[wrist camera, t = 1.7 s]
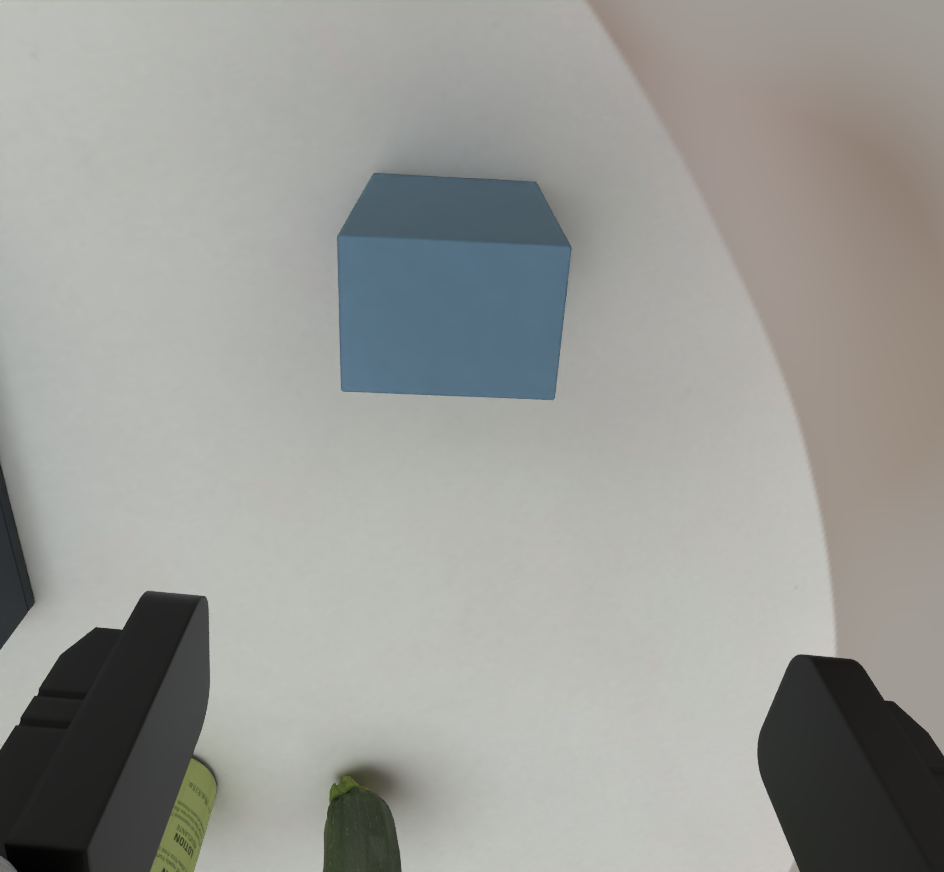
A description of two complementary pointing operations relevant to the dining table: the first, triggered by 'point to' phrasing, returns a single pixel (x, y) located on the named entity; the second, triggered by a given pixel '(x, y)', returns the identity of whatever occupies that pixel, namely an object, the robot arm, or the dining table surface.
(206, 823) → the tube
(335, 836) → the vegetable
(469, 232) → the steel-blue rectangular block
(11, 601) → the tray
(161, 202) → the dining table surface
